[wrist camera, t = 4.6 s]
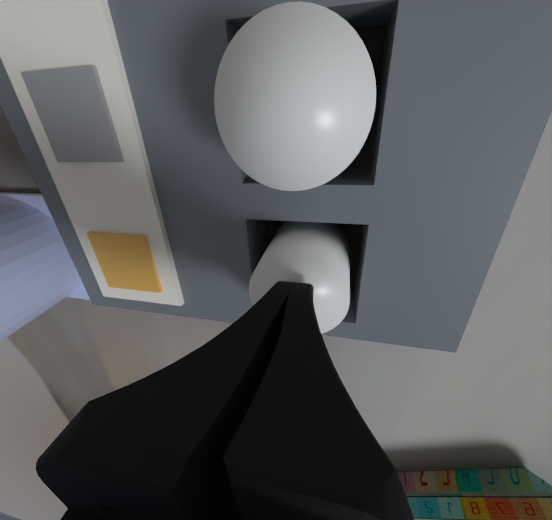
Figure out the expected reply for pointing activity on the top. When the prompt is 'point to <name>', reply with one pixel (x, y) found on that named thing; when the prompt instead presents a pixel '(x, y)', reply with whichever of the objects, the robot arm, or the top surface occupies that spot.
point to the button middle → (295, 96)
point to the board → (255, 196)
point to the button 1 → (308, 267)
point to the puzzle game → (477, 494)
